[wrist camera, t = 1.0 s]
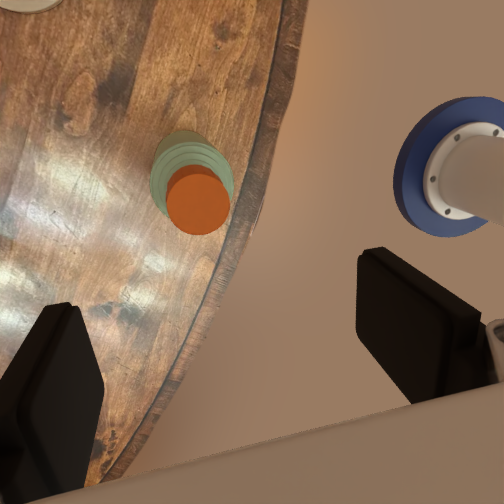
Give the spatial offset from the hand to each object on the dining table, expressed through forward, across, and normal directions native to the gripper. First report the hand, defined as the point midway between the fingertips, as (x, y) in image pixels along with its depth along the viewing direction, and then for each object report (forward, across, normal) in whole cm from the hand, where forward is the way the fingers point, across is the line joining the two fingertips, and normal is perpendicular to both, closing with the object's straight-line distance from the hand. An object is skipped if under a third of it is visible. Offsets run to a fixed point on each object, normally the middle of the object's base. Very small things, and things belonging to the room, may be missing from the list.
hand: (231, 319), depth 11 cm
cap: (+17, 0, 0) cm, 17 cm away
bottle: (+31, 0, 0) cm, 31 cm away
